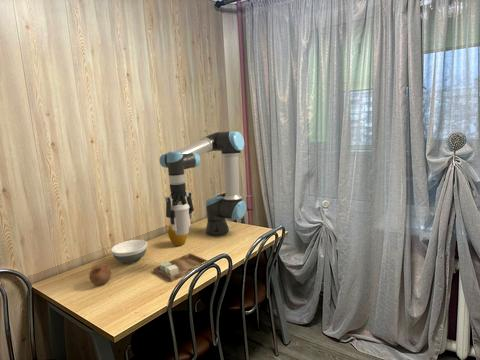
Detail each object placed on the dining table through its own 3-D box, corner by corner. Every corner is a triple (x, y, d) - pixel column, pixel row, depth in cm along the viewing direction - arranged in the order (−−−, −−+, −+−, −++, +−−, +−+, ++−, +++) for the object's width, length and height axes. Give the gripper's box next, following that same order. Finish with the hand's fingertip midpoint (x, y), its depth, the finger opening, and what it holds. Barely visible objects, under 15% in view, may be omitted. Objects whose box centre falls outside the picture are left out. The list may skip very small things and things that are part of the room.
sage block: (166, 269, 155) (165, 261, 154) (172, 270, 153) (171, 263, 152) (160, 272, 152) (159, 264, 151) (166, 274, 149) (165, 266, 149)
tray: (190, 257, 168) (189, 253, 168) (209, 265, 157) (208, 260, 156) (153, 272, 153) (153, 268, 153) (171, 283, 142) (171, 278, 141)
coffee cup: (187, 236, 151) (184, 206, 148) (169, 236, 153) (166, 206, 151) (194, 230, 160) (192, 201, 157) (177, 229, 162) (174, 201, 160)
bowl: (107, 261, 170) (105, 247, 168) (138, 250, 183) (137, 237, 181) (122, 271, 157) (120, 256, 155) (155, 258, 170) (153, 244, 168)
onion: (101, 293, 143) (95, 279, 137) (88, 284, 147) (81, 271, 141) (118, 277, 150) (112, 264, 144) (104, 269, 154) (98, 256, 148)
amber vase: (166, 248, 183) (164, 227, 181) (173, 241, 194) (171, 221, 192) (184, 248, 181) (182, 227, 179) (190, 241, 192) (188, 221, 190)
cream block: (175, 272, 151) (174, 264, 150) (178, 275, 147) (178, 267, 147) (167, 275, 148) (166, 267, 148) (171, 278, 145) (170, 270, 144)
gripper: (190, 179, 162) (194, 221, 165) (154, 186, 148) (159, 232, 152) (198, 180, 156) (202, 224, 160) (162, 187, 143) (167, 235, 146)
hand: (181, 228), depth 156 cm, fingers closed on coffee cup, 7 cm apart
